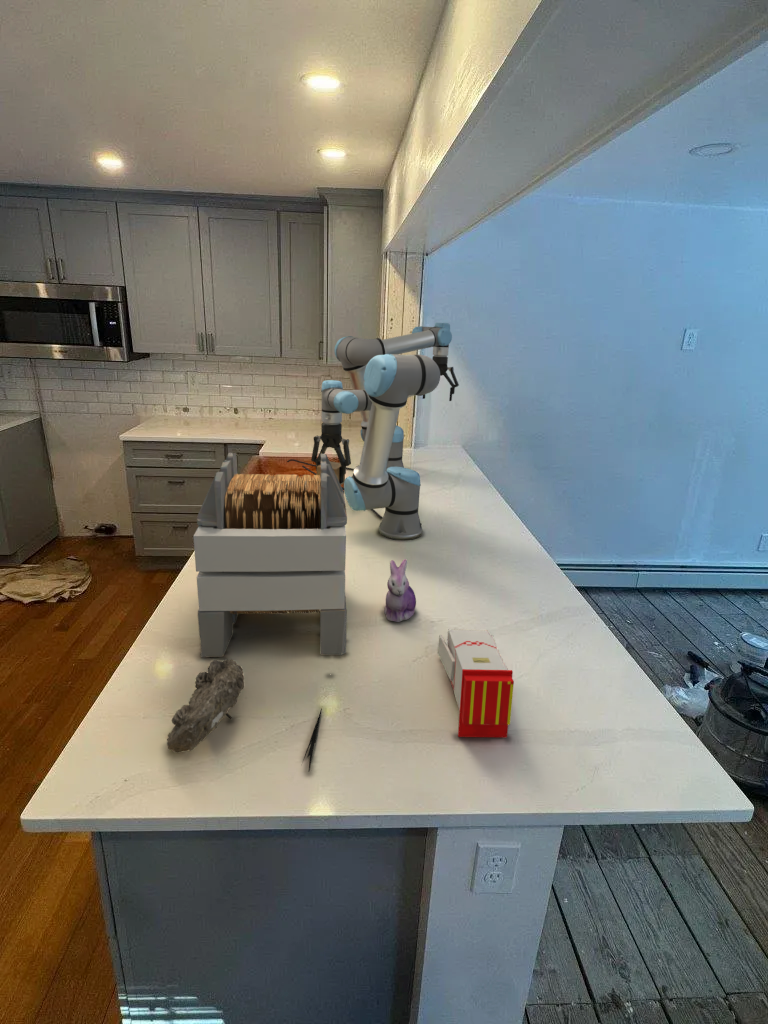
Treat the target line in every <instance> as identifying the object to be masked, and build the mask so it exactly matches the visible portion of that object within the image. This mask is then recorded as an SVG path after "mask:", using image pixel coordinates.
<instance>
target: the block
mask: <svg viewBox="0 0 768 1024" xmlns="http://www.w3.org/2000/svg"><path fill="white" fill-rule="evenodd" d="M330 463H331V466H332V468H333V470H334V472H335V474H336V476H337V478H338V481H339V468H340V466H341V464H340V462H337V461H330ZM316 474H317V475H320V478H321V464H320V465H318V466H317V471H316ZM345 479H346V474H345V475H344V481H345ZM318 484H319V483H318ZM340 485H341V486H342V485H344V482H343V483H341V484H340Z"/></svg>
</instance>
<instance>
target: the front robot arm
mask: <svg viewBox="0 0 768 1024" xmlns="http://www.w3.org/2000/svg"><path fill="white" fill-rule="evenodd" d="M364 380H365V382H364V387H365V390H353V389H344V387H343V382H342V380H336V379H325V380H323V381H322V383H321V390H320V392H321V422H322V423H321V425H320V426H321V435H315V436H313V446H312V453H311V462H313V463H315V465H316V467H315V471H316V472H314V471H312V470H311V469H309V468H308V467H307V466H305V465H304V464H303V465H301V467H302V468H303V469H304V470H306V471H308V472H309V473H311V474H312V475H313V476H314V475H317V466H318V465H320V464H321V454H326V451H327V449H328V448H331V449H334V451H335V453H336V455H337V458H338V461H339V463H340V464H341V466H340V468H339V483H340V484H341V483H343V482H344V483H343V486H341V487H342V489H343V491H344V497H345V501H346V502H347V504H348V506H349V507H350V509H351V510H352V511H355V512H361V511H362V512H366V511H369V510H370V511H371V512H372V513H374V515H376V516H377V517H378V518H379V519H380V520H381V522H379V525H378V533H379V534H380V535H381V536H382V537H385V538H387V539H389V540H395V541H410V540H415V539H418V538H420V537H421V536H422V535H423V523H421V518H420V515H419V507H420V506H419V505H420V491H421V486H422V485H421V474H420V472H418V471H416V470H414V469H411V468H407V467H404V468H403V467H389V468H387V471H385V470H386V466H387V461H388V457H389V453H390V449H391V444H392V440H393V436H394V432H395V427H396V425H397V424H398V419H399V415H400V411H401V409H403V408H404V407H405V406H406V405H407V402H408V399H409V398H411V397H413V396H418V397H420V396H421V397H423V395H425V396H426V395H427V394H430V393H432V392H433V391H435V390H436V389H437V387H438V386H439V384H440V382H441V381H440V380H441V376H440V370H439V367H438V365H437V364H436V363H435V362H434V360H432V358H431V357H429V356H428V355H424V354H398V355H392V354H385V355H377V356H375V357H373V358H372V359H371V360H370V361H369V362H368V364H367V366H366V369H365V373H364ZM360 411H370V415H369V420H368V425H367V430H366V435H365V440H364V441H363V446H362V450H361V456H360V460H359V465H356V466H355V467H354V468H353V469H354V470H353V473H352V475H349V476H347V477H345V481H344V475H345V476H346V474H347V469H346V467H350V466H351V465H352V459H351V454H350V439H349V438H343V436H342V428H343V427H342V422H343V414H346V415H349V414H353V413H355V412H360ZM320 442H322V445H321V449H319V448H320ZM341 445H343V446H342V447H343V450H342V447H341ZM319 450H320V451H319ZM378 509H384V513H383V515H382V516H381V514H380V513H378V512H377V511H376V510H378Z"/></svg>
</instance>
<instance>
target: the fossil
mask: <svg viewBox="0 0 768 1024" xmlns="http://www.w3.org/2000/svg"><path fill="white" fill-rule="evenodd" d="M243 670H244V669H243V667H242V665H240V664H237V662H236V661H235V660H234V659H232V658H231V659H227V658H226V659H224V660H223V661H222V660H217V659H212V660H211V661H210V663H209V665H208V666H207V671H201V672H199V673H198V674H197V675H196V676H195V680H194V684H195V685H194V687H195V689H194V690H193V693H192V694H191V697H190V698H189V700H188V704H184V705H182V706H181V707H180V709H177V710H176V711H175V713H174V715H173V716H172V718H171V723H172V724H173V727H172V730H171V731H170V732H168V734H167V738H166V741H167V742H166V745H167V749H168V750H169V751H173V752H174V753H176V754H178V753H182V752H188V751H189V752H192V751H193V750H195V748H196V747H197V746H199V744H200V743H201V742H203V741H204V740H205V739H206V738H207V737H208V736H209V735H210V734H211V733H212V732H214V730H215V729H217V727H218V726H219V724H220V722H221V721H222V720H223V719H224V718H225V716H226V717H227V719H229V720H233V717H232V715H230V714H229V710H230V709H231V708H234V706H235V704H236V703H237V702H238V699H239V697H240V695H241V693H242V691H243V690H245V689H244V688H245V675H244V671H243Z"/></svg>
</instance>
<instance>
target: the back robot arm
mask: <svg viewBox="0 0 768 1024" xmlns="http://www.w3.org/2000/svg"><path fill="white" fill-rule="evenodd" d="M452 340H453V333H452V331H451V324H450V323H448V322H435V323H434V325H433V326H421V325H420V326H415V327H414V328H412V331H411V333H408V334H403V335H398V336H394V337H388V338H384V339H381V338H380V337H376V338H362V337H355V336H352V335H348V336H344V337H341V338H339V339H338V340H337V341H336V344H335V346H334V356H335V358H336V359H337V360H338V362H340V364H341V367H342V369H343V371H344V372H345V373H347V375H348V377H349V381H350V384H351V388H352V390H365V387H364V382H365V380H364V373H365V369H366V366H367V364H368V362H369V361H370V360H371V359H372V358H373V357H375V356H377V355H385V354H392V355H404V354H406V353H412V352H416V351H419V350H424V349H429V348H432V355H433V356H432V358H431V359H432V360H434V362H435V363H436V364H437V365H438V367H439V370H440V377H441V376H442V377H444V378H445V379H446V381H447V383H449V385H450V388H449V400H448V401H449V402H452V400H453V395H454V394H455V391H456V388H457V387H459V386H460V384H459V381H458V379H457V377H456V374H455V369H454V366H448V361H449V357H448V356H449V350H450V349H449V348H450V344H451V342H452ZM447 371H449V372H450V376H451V378H452V379H451V378H450V376H449V374H448V373H447ZM424 399H426V394H425V395H422V400H424ZM359 412H360V416H361V419H362V421H361V422H360V427H361V429H360V438H361V440H362V442H364V440H365V435H366V430H367V425H368V420H369V415H370V411H359ZM404 439H405V434H404V429H403V428H402V427H401V426H399V425H397V424H396V427H395V432H394V436H393V440H392V444H391V449H390V453H389V457H388V461H387V466H386V470H385V471H387V468H389V467H403V468H405V466H404V465H405V464H404V461H403V453H404ZM286 462H287V463H289V462H297V463H300V464H303V465H307V466H310V467H314V468H316V464H312V463H308V462H305V461H301V460H297V459H294V458H291V459H288V460H287V461H286ZM354 469H355V468H351V467H348V466H346V470H350V471H354Z"/></svg>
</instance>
